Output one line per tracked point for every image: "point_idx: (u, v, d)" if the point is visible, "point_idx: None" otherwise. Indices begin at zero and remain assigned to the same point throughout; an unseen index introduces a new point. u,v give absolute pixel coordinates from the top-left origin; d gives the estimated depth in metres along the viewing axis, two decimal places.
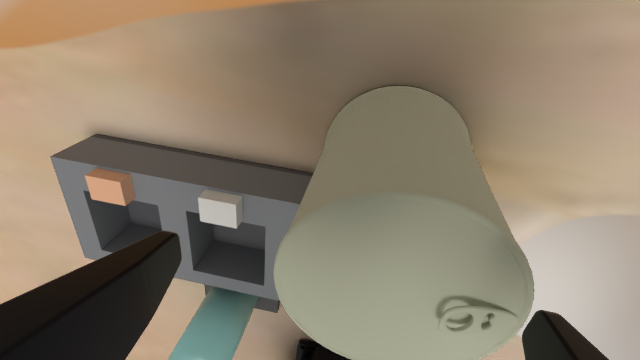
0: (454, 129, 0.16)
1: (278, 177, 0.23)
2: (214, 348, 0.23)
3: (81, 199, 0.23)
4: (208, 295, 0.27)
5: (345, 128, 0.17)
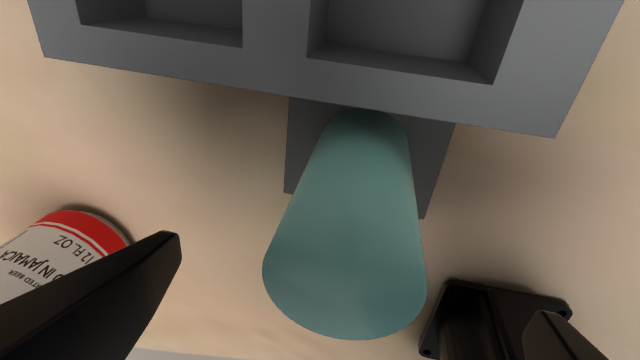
0: None
1: None
2: (401, 221, 0.08)
3: None
4: (324, 144, 0.12)
5: None
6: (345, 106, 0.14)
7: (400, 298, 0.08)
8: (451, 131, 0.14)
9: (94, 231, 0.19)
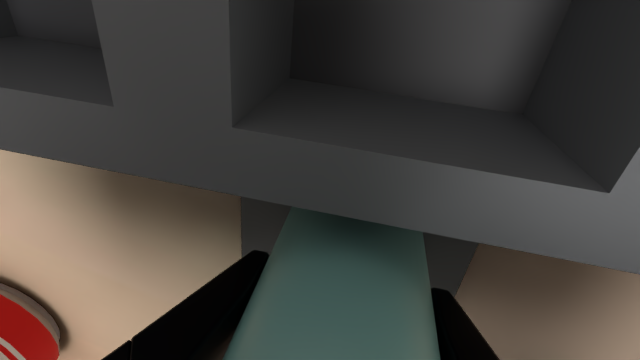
0: None
1: None
2: None
3: None
4: (282, 260, 0.07)
5: None
6: None
7: None
8: None
9: None
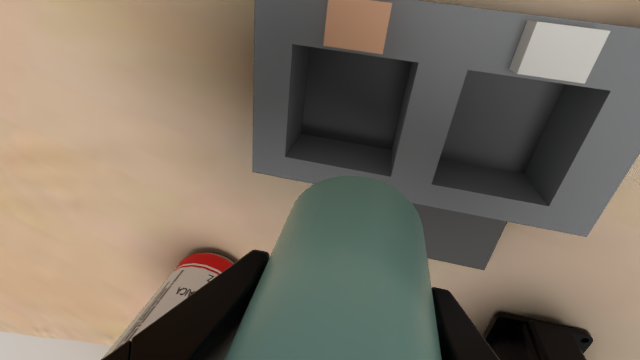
0: None
1: None
2: None
3: (283, 63, 0.15)
4: (283, 261, 0.07)
5: None
6: None
7: None
8: None
9: None
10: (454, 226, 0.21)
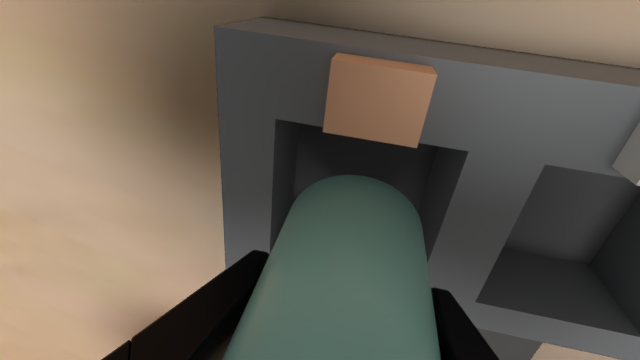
0: None
1: None
2: None
3: (263, 144, 0.10)
4: (281, 261, 0.07)
5: None
6: None
7: None
8: None
9: None
10: None
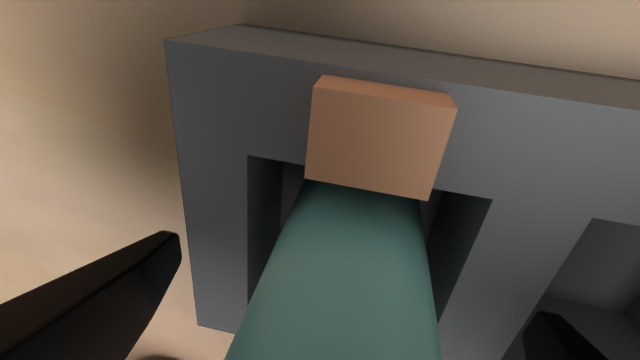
0: None
1: None
2: None
3: (233, 184, 0.08)
4: (305, 204, 0.09)
5: None
6: None
7: None
8: None
9: None
10: None
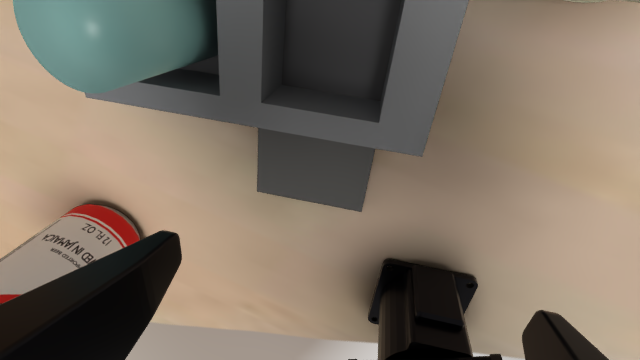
0: None
1: None
2: None
3: None
4: None
5: None
6: None
7: (113, 36, 0.10)
8: None
9: (111, 221, 0.25)
10: (323, 164, 0.20)
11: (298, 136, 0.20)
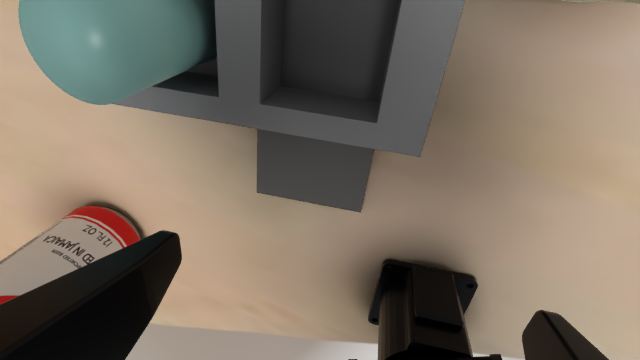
0: None
1: None
2: None
3: None
4: None
5: None
6: None
7: (118, 51, 0.11)
8: None
9: (112, 222, 0.25)
10: (322, 164, 0.20)
11: (297, 137, 0.20)
